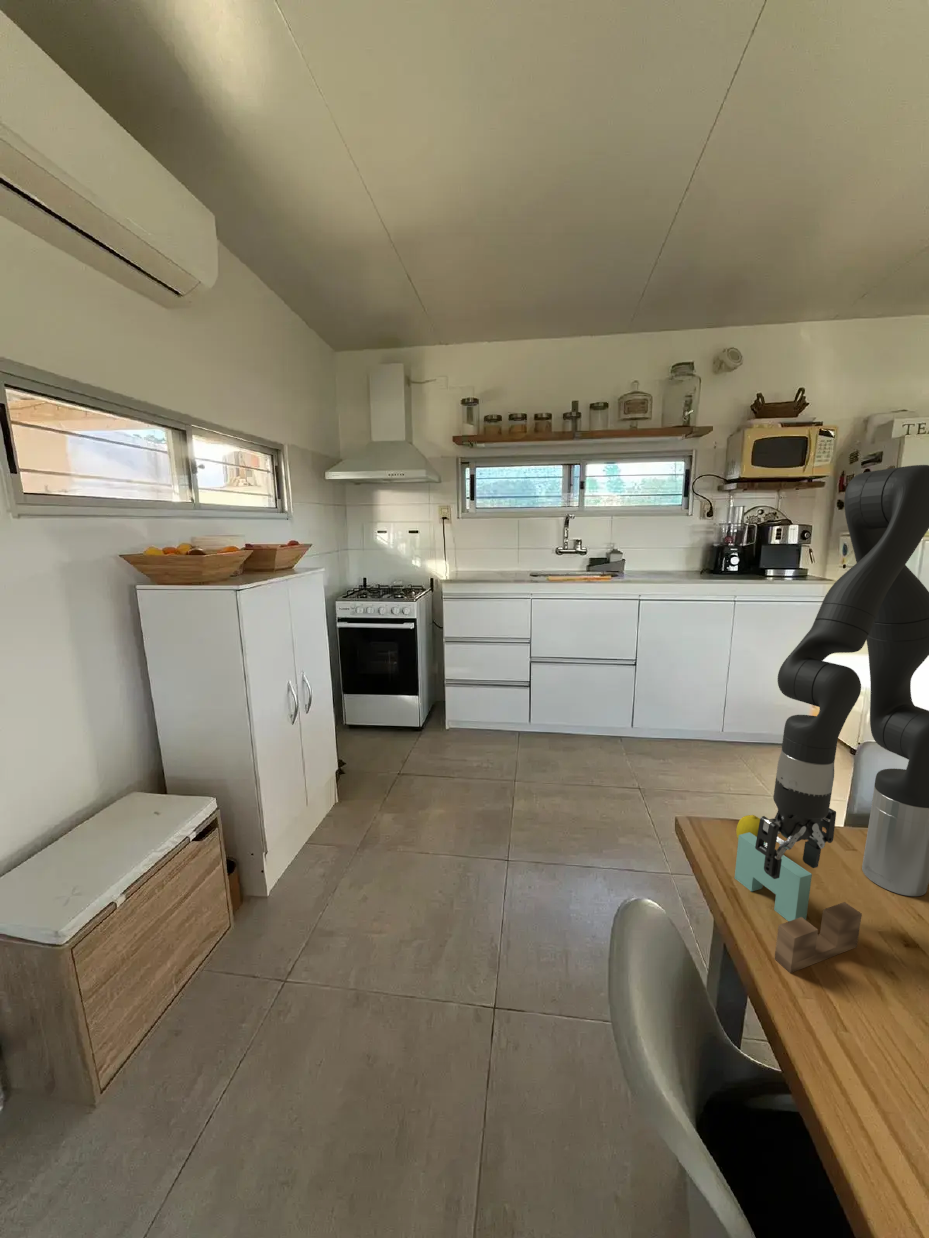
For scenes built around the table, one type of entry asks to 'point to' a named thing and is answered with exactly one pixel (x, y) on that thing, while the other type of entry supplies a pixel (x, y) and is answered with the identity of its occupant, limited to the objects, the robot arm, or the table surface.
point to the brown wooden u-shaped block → (817, 937)
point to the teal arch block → (787, 887)
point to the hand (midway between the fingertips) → (790, 870)
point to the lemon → (748, 825)
